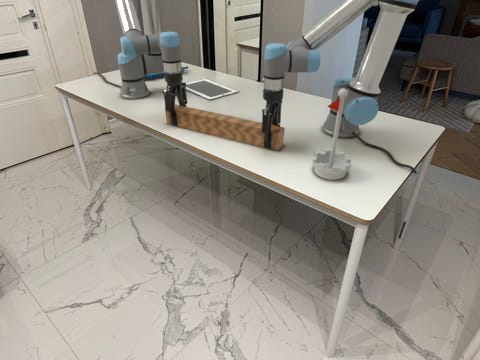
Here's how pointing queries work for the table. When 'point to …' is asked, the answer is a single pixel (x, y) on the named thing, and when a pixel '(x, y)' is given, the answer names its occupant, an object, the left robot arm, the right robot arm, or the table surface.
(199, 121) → the post
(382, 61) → the right robot arm
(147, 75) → the submachine gun
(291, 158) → the table surface
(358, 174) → the table surface
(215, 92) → the tablet
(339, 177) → the flag stand
